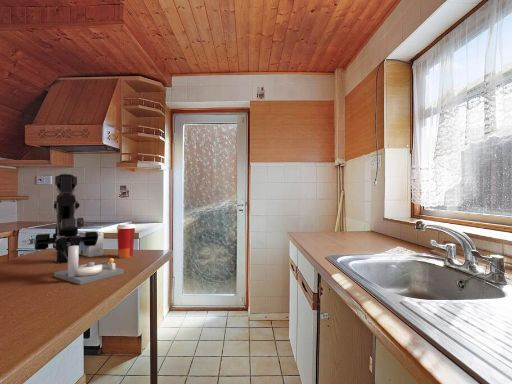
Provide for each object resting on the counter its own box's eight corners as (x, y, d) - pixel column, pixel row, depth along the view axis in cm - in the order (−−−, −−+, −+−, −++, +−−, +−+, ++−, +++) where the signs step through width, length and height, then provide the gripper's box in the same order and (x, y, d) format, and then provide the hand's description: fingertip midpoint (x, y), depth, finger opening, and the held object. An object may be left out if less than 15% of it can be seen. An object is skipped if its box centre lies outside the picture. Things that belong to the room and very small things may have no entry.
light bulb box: (78, 254, 141) (78, 231, 141) (92, 251, 146) (93, 230, 146) (89, 257, 135) (89, 233, 135) (103, 255, 140) (104, 232, 140)
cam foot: (100, 266, 114) (101, 240, 114) (114, 269, 109) (115, 242, 109) (61, 274, 101) (61, 245, 101) (75, 279, 97) (76, 248, 97)
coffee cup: (128, 254, 143) (129, 223, 143) (138, 256, 138) (139, 224, 138) (111, 256, 137) (112, 224, 136) (121, 259, 132) (122, 225, 132)
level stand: (54, 276, 104) (54, 261, 104) (97, 267, 118) (97, 254, 118) (80, 284, 97) (80, 268, 97) (123, 273, 111) (123, 259, 111)
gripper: (36, 210, 100) (37, 248, 91) (98, 209, 111) (103, 243, 103) (34, 231, 106) (34, 268, 97) (93, 228, 117) (98, 262, 109)
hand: (69, 260), depth 101 cm, fingers closed
